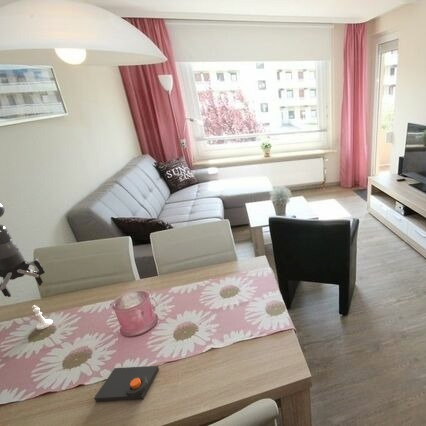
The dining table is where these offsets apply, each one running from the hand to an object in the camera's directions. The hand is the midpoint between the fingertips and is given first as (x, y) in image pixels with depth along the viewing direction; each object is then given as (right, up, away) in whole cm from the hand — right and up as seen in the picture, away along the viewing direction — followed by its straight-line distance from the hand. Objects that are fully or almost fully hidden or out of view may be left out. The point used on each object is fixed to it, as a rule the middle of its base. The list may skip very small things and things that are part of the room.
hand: (25, 290), depth 110 cm
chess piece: (+1, -16, +7) cm, 18 cm away
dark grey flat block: (+51, -25, -18) cm, 60 cm away
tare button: (+55, -23, -22) cm, 64 cm away
